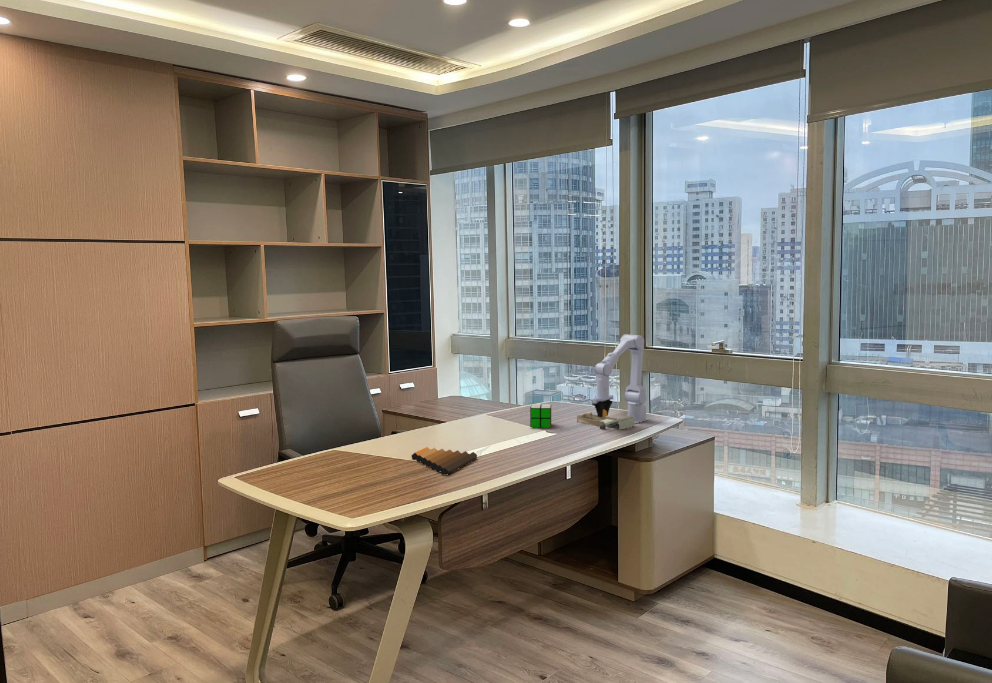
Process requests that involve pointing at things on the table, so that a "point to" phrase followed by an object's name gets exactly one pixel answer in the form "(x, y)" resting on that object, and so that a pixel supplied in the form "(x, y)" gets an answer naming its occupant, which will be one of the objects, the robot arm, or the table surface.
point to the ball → (604, 413)
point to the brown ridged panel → (443, 459)
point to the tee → (602, 426)
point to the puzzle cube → (540, 415)
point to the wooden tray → (592, 419)
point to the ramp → (620, 422)
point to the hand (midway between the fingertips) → (602, 416)
